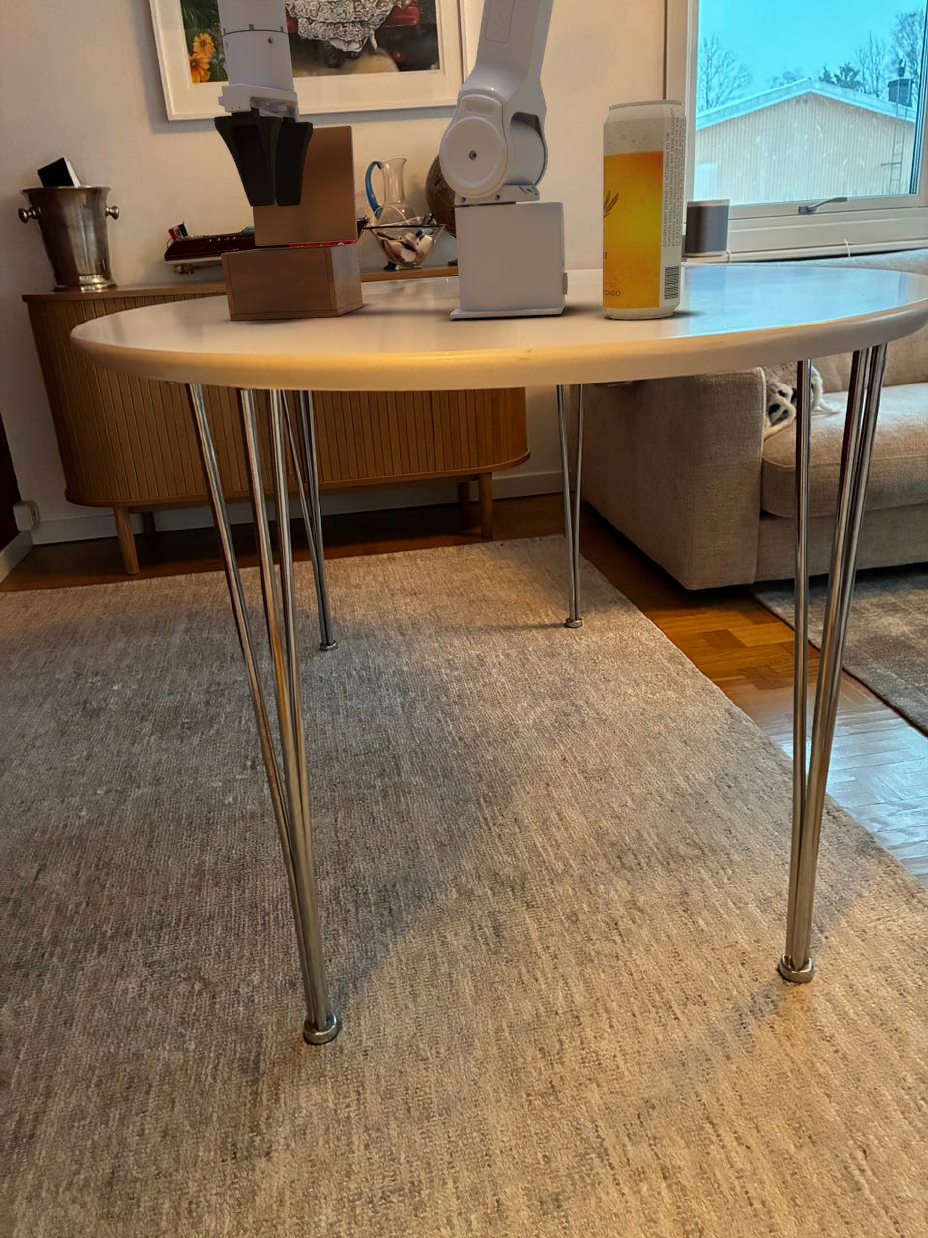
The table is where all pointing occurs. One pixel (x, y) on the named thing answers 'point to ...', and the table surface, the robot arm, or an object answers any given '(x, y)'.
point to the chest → (292, 282)
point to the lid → (316, 196)
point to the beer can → (643, 208)
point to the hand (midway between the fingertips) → (276, 206)
